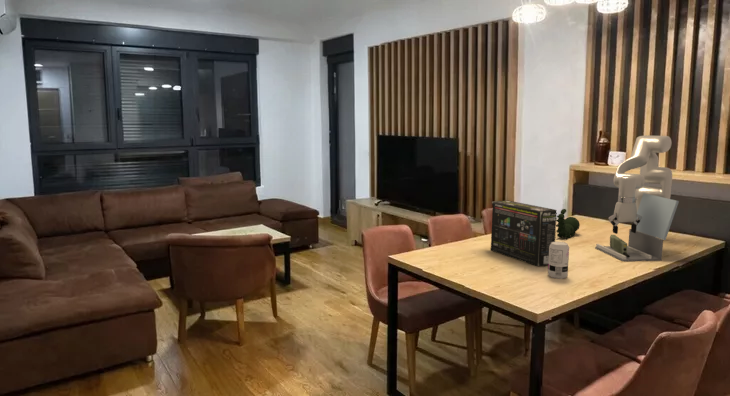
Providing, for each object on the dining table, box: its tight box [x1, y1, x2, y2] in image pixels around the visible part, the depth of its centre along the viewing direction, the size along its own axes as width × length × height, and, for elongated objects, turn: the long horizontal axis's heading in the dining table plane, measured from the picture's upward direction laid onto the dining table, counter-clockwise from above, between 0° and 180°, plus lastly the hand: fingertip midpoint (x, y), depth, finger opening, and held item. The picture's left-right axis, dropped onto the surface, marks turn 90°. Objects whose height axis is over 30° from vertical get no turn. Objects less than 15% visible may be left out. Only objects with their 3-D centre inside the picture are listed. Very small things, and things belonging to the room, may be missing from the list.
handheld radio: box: [609, 234, 630, 257], centre depth 262 cm, size 7×3×25 cm
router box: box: [490, 200, 558, 267], centre depth 257 cm, size 36×11×27 cm, turn 26°
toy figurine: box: [555, 208, 581, 239], centre depth 302 cm, size 9×19×25 cm
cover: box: [636, 193, 680, 241], centre depth 261 cm, size 20×26×1 cm
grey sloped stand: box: [594, 228, 664, 263], centre depth 262 cm, size 20×26×10 cm
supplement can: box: [547, 241, 570, 280], centre depth 225 cm, size 8×8×15 cm
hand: (624, 232), depth 262 cm, fingers open, 9 cm apart
